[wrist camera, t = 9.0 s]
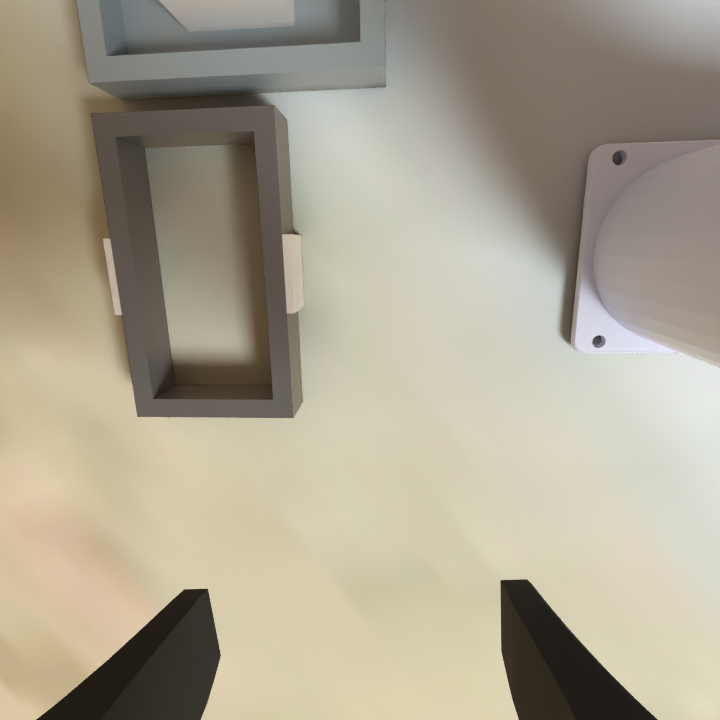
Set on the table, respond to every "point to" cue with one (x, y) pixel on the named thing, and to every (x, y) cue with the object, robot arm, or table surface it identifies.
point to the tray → (231, 50)
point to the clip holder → (142, 270)
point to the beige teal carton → (231, 14)
